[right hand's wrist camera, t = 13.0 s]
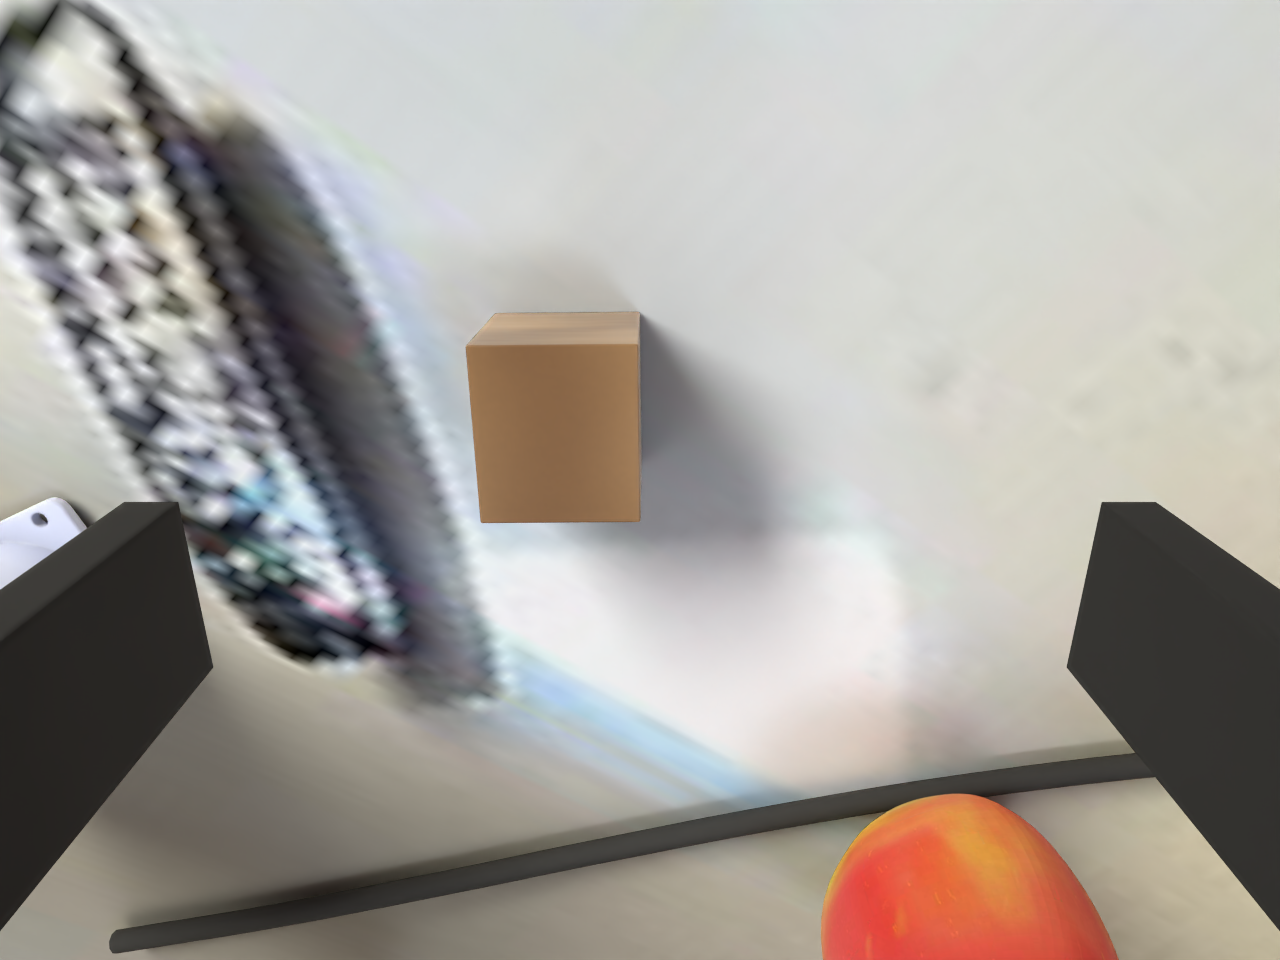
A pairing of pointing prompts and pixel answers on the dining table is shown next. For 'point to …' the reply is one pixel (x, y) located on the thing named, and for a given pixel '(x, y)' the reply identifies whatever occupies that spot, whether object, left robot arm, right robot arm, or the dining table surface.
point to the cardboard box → (557, 417)
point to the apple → (957, 890)
